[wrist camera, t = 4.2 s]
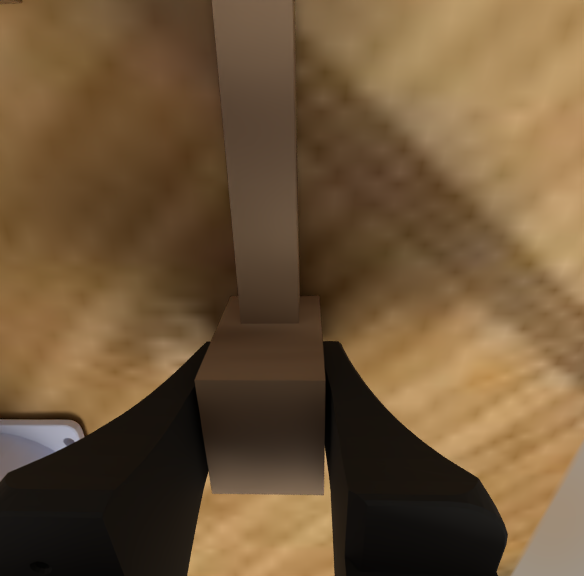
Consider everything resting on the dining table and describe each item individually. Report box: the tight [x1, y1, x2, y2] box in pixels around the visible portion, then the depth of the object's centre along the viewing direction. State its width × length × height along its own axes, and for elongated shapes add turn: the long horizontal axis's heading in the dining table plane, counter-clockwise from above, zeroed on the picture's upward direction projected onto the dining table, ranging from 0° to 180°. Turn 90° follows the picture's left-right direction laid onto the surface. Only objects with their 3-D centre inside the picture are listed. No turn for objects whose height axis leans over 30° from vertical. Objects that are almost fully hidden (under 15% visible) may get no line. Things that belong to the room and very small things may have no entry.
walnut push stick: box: [194, 0, 325, 495], centre depth 10 cm, size 16×5×5 cm, turn 1°
